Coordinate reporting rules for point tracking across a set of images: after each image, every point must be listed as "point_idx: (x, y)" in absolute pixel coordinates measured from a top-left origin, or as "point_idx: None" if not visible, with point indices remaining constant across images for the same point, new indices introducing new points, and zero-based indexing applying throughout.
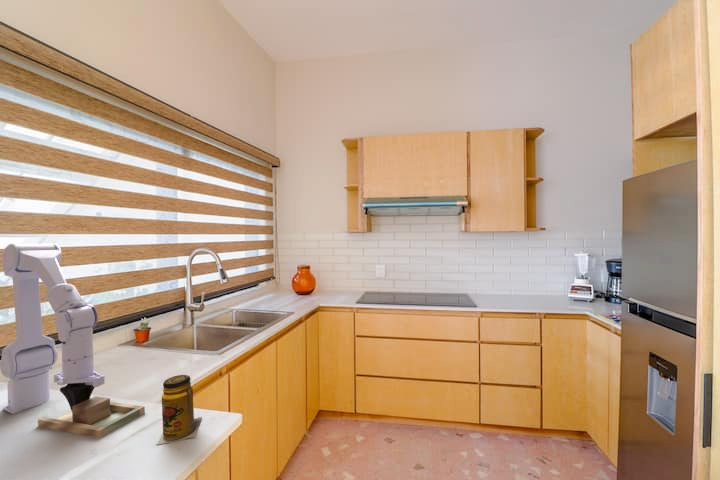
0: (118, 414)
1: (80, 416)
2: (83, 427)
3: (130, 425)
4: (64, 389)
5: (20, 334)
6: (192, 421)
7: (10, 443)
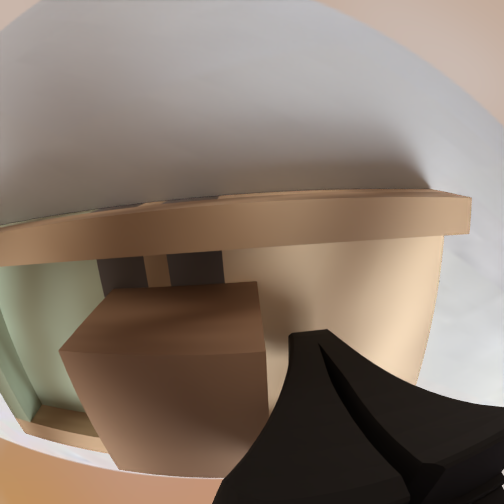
0: None
1: (163, 313)
2: (14, 234)
3: None
4: (447, 470)
5: None
6: None
7: (421, 70)
